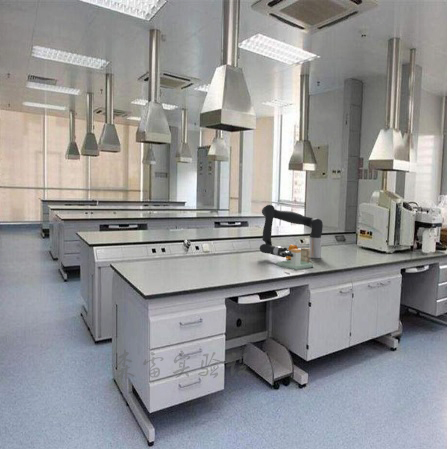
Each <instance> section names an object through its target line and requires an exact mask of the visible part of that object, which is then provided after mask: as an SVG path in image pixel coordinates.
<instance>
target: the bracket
mask: <svg viewBox="0 0 448 449" xmlns="http://www.w3.org/2000/svg"><path fill="white" fill-rule="evenodd" d="M287 249H288V250H290V251H291V249H299V248H298V246H297V245H295V244H290V245H288V248H287ZM285 259H286V260H287V259H288V260H291V257H290V256H286V257H285Z"/></svg>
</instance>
